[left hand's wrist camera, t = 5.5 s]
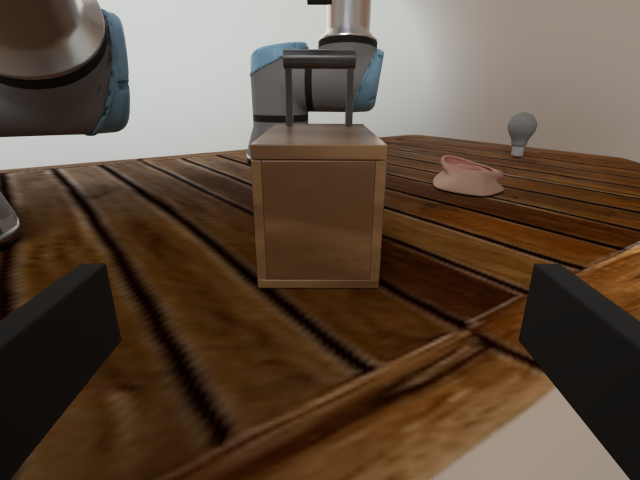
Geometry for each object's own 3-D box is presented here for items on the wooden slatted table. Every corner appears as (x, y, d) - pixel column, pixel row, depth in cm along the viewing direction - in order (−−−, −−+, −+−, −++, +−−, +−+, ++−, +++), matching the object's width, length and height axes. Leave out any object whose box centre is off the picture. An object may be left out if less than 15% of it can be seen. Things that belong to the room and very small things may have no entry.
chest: (278, 223, 48) (274, 134, 44) (359, 223, 48) (363, 135, 44) (257, 288, 32) (250, 160, 29) (378, 288, 32) (386, 160, 29)
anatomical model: (508, 171, 57) (426, 165, 61) (503, 199, 58) (423, 190, 63) (508, 158, 68) (439, 153, 72) (504, 181, 69) (437, 175, 74)
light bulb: (507, 158, 92) (514, 113, 88) (499, 154, 97) (506, 111, 94) (534, 159, 91) (543, 113, 87) (525, 155, 97) (533, 111, 93)
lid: (275, 133, 45) (273, 51, 42) (362, 133, 45) (365, 51, 42) (250, 159, 29) (242, 27, 26) (386, 160, 29) (395, 28, 26)
